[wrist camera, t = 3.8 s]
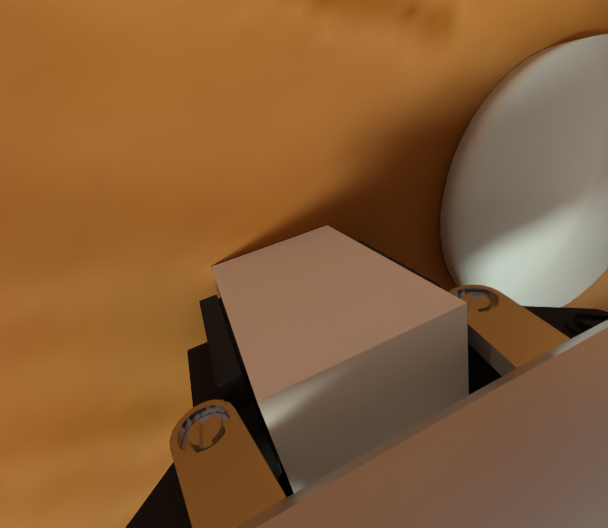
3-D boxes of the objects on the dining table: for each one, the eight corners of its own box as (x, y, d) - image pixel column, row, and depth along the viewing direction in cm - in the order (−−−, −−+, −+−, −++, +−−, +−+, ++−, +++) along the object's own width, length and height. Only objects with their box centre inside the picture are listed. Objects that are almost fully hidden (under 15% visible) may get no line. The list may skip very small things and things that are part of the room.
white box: (328, 224, 11) (470, 301, 6) (375, 452, 16) (474, 602, 11) (209, 266, 10) (253, 404, 5) (298, 495, 15) (367, 682, 10)
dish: (657, 18, 13) (698, 9, 12) (609, 260, 18) (636, 268, 17) (432, 75, 11) (461, 69, 10) (444, 341, 16) (465, 357, 14)
